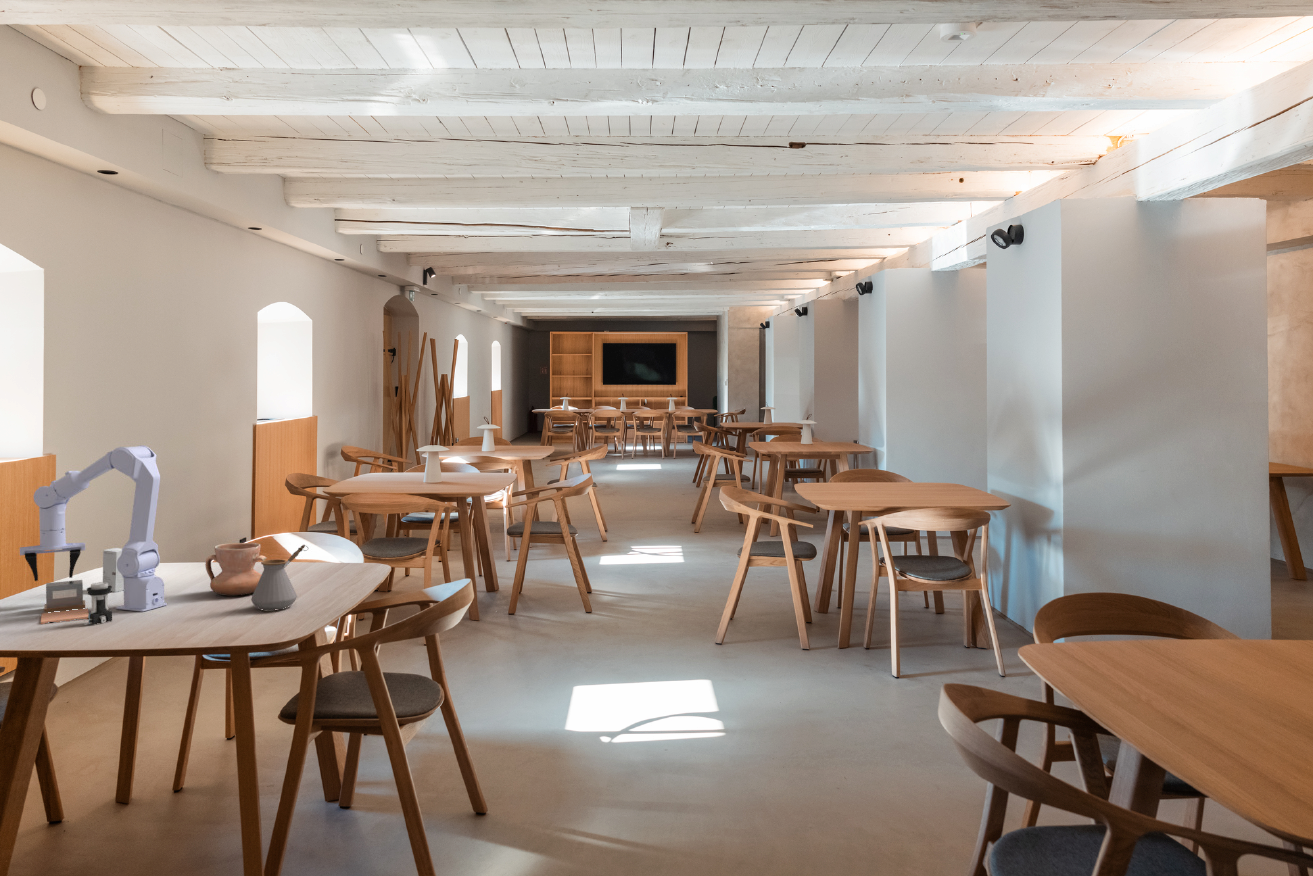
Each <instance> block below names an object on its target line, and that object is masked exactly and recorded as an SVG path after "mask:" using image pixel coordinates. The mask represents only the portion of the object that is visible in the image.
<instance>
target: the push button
mask: <svg viewBox="0 0 1313 876" xmlns="http://www.w3.org/2000/svg"><path fill="white" fill-rule="evenodd" d="M111 588H112V586H109V585H108V583H107V582H103V581H101V582H93V583H91V584H90V586H89V587H87V588H86V591H87V596H90V598H91V610H90V613H88V618H89V619H83V620H82V621H83V622H86V623H84V625H91V624H96V625H98V624H97V623H100V624H104V622H105V623H108V622H107V621H110V622H112V621H113V611H112V610H109V609H110V608H109V607H108V606H109V605H108V602H109V600H108V595H109V594H111V593H112V592H111ZM87 621H88V622H87Z"/></svg>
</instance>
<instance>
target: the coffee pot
mask: <svg viewBox="0 0 1313 876" xmlns="http://www.w3.org/2000/svg"><path fill="white" fill-rule="evenodd" d="M305 547H306V548H307V549H305ZM308 549H309V546H308V545H305V544H302V545H301V546H300V547H298V549H297V550H295V551H294V552H293V553H292V555H291V556H290V557H289V558H288V559H287V560H286V559H267V560H266V559H265V560H264V561H261V562H260V563H261V564H260V565H262V568H263V571H262V574H261V577H260V580H259V582H258V584H257V587H256V589H255V591H254V592H253V593H252V596H251V597H250V599H251V603H252V605H253V606H254V607H255V608H258V610H259V609H263V610H275V609H283V608H285V607H288V606H291V605H293V604H294V603H295V601H296V600H297V598H298V595H297V592H296V591H295V589H294V587H293V584H292V582H291V580H290V578H289V575H288V574H287V572H286V569H285V568H286V567H287V566H288V565H289V564H290V563H291V562H292V561H294V560H295V558H297V557H298V556H299V554H300V552H302V551H304V552H306V551H308ZM283 610H284V609H283Z"/></svg>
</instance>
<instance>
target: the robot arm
mask: <svg viewBox="0 0 1313 876" xmlns="http://www.w3.org/2000/svg"><path fill="white" fill-rule="evenodd" d="M113 469H115V470H117V471H118V472H120V473H121V474H124V475H125V476H128V477H129V478H130V479H131V480H133V482H134V483H135V491H134V498H133V505H132V512H131V513H132V515H131V520H130V521H131V523H130V530H129V538H128V541H127V542H125V544H124V546H123V547H122V548H121V549H122V553H121V556H120V557H119V559H118V560H117V569H118V571H119V572H120V573H121V574H122V577H123V581H124V591H123V605H118V606H115V610H122V611H125V610H126V611H133V612H146V611H150V610H153V609H157V608H160V607H164V606H167V604H168V603H166V602H165V583H164V580H163V579H162V578H161V577H160V576H157V575H156V574H155V573H156V569H157V567H158V566H159V564H160V562H161V557H160V553H159V545H158V544H157V543H156V542H155V541H154V540H153V539H154V530H155V524H156V523H155V522H156V516H157V508H158V501H159V500H158V499H159V491H160V484H161V474H160V472H159V468H158V465H157V454H156V453H155V452H154V451H153V450H152V449H151V448H150V447H148V446H147V445H137V446H125V447H124V446H119V447H115V449H113V450H111V451H108V452H107V453H106V454H105V455H103V456H102V457H100V458H99V459H98V460H96V461H95V462H93V463H91V464H90V465H88V466H87V467H86V468H84V469H83V470H81V471H80V470H68V471H66V472H65V473H64V476H62V477H61V478H59V479H57V480H52V481H51V482H50V484H49V486H48V485H42V486H39V487H38V488H37V489H36V490H35V491H34V494H33V501H34V502H33V503H34V504H35V505H36V506H37V507H39V509H38V510H39V511H38V512H39V515H38V516H39V517H38V518H39V544H38V545H31V546H21V547H19V556H24V559H25V561H26V562H27V564H28V566H29V567H30V569H31V572H32V575H33V579H34V582H39V574H38V573H39V572H38V561H37V560H38V558H37V557H38V554H39V555H40V554H48V553H49V554H51V553H64V552H69V572H68V576H69V578H71V579H72V578H73V574H74V570H75V567H76V563H77V562H78V560H79V557H80V555H81V552H83V551H86V542H69V543H68V542H67V540H66V538H67V535H66V533H67V532H66V510H67V504H68V503H69V502H70V500H71V498H73V497H75V496H76V495H78V494H80V493H81V492H83V491H85V490H86V489H88V488H89V487H90V482H91V481H93V480H95V479H97V478H99V477H100V476H102V475H104V474H106V473H108V472H109V471H112V470H113Z"/></svg>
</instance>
